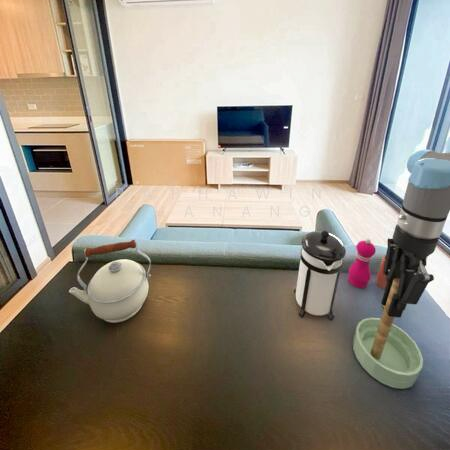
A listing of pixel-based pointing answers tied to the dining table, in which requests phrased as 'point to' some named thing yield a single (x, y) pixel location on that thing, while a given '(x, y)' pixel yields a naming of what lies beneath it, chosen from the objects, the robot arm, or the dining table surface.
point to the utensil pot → (381, 275)
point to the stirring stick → (384, 324)
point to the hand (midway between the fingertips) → (390, 309)
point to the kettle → (115, 285)
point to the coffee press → (319, 273)
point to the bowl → (388, 355)
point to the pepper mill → (362, 264)
